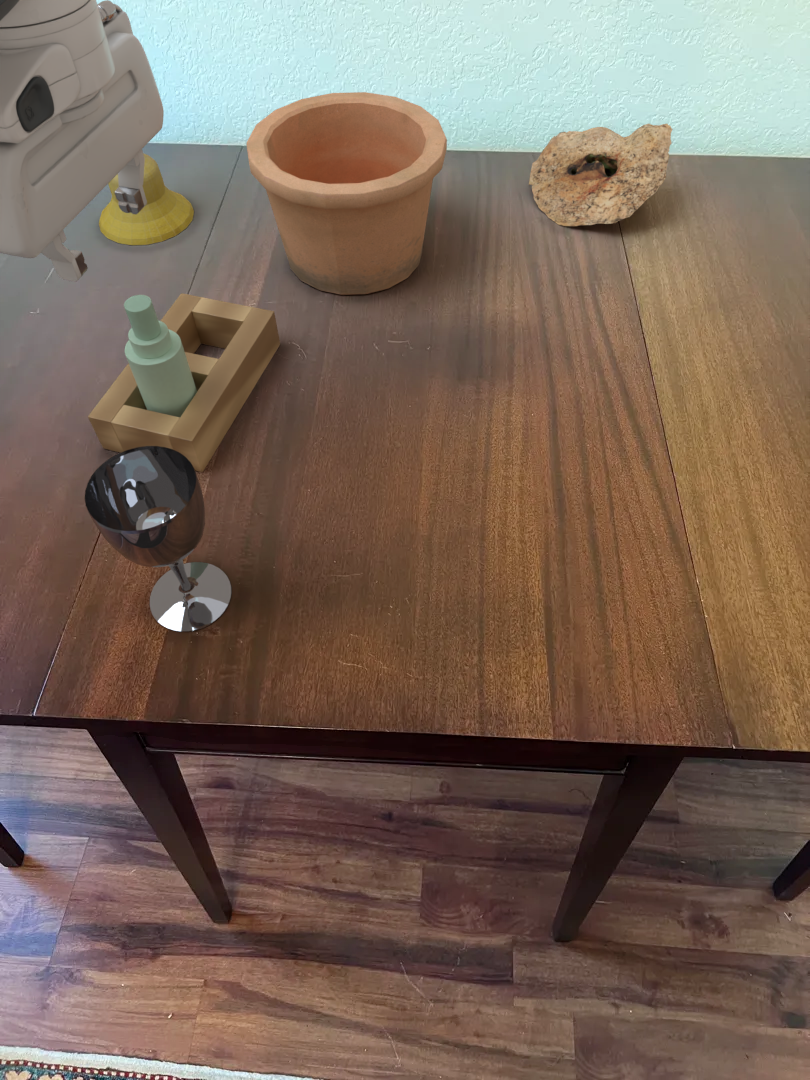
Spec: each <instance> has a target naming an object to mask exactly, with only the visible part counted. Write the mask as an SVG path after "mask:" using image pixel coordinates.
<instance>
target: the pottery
mask: <svg viewBox="0 0 810 1080" xmlns="http://www.w3.org/2000/svg"><path fill="white" fill-rule="evenodd" d="M447 150H448V139H447V136H446V134H445V132H444V129H443V127H442V124H441V123H440V120H439V119H437V117H435V116H434V115H433V114H431V113H430V112H429V111H427V110H426V109H425V108H424V107H422V106H421V105H419V104H416V103H413V102H410V101H407V100H405V99H403V98H399V97H397V96H393V95H387V94H380V93H374V92H367V91H359V92H357V91H355V92H330V93H326V94H325V93H324V94H321V95H315V96H311V97H305V98H301V99H299V100H296V101H293V102H291V103H289V104H288V103H287V104H286V105H284V106H281V107H279V108H277V109H275V110H273V111H272V112H270V113H269V114H267V116H265V117H264V118H263V119H261V120H260V121H259V122H258V123H256V124H255V125H254V128H253V130H252V132H251V133H250V135H249V137H248V139H247V141H246V151H247V158H248V165H249V170H250V174H251V175H252V176H253V177H254V178H255V179H256V181H257V182H259V184H260V185H261V186H262V187H263V188H264V189H265V193H266V194H267V198H268V201H269V204H270V208H271V210H272V213H273V216H274V221H275V222H276V223H275V224H276V225H277V229H278V232H279V235H280V238H281V242H282V245H283V248H284V251H285V255H286V257H287V261H288V264H289V269H290V270H291V271H292V272H293V273H294V274H295V275H296V277H297V278H298V279H299V281H301V282H304V283H305V284H307V285H309V286H310V287H313V288H315V289H316V290H318V291H321V292H326V293H332V294H336V295H341V296H348V295H349V296H350V295H351V296H353V295H356V296H357V295H368V294H373V293H377V292H381V291H385V290H388V289H390V288H392V287H394V286H396V285H398V284H399V283H401V282H403V281H404V280H406V279H408V278H409V277H410V276H411V275H412V273H413V272H414V271H416V269H417V268H418V267H419V266H420V263H421V259H422V255H423V249H424V248H423V246H424V240H425V233H426V227H427V220H428V215H429V209H430V201H431V194H432V189H433V182H434V178H435V177H436V176H437V175H438V174H439V173H440V172H441V171H442V169H443V167H444V162H445V159H446V158H445V157H446V154H447Z"/></svg>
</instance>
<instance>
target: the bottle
mask: <svg viewBox="0 0 810 1080" xmlns="http://www.w3.org/2000/svg"><path fill="white" fill-rule="evenodd" d="M123 307H124V311H125V313H126V315H127V318H128V321H129V325H130V329H129V331H128V333H127V338H128V341H127V342H126V343H125V346H124V355H125V358H126V360H127V364H128V363H129V365H130V368H131V370H132V373H133V375H134V378H135V380H136V383H137V386H138V388H139V391H140V393H141V396H142V398H143V401H144V403H145V406H146V408H147V410H149V411H154V412H158V413H163V414H167V415H171V416H176V417H181V415H182V414H183V412H184V411H185V409H186V408H187V406H188V405H189V403H190V402H191V400H192V399H193V397H194V396H195V394H196V393H197V390H196V386H195V383H194V380H193V377H192V374H191V371H190V367H189V364H188V361H187V358H186V355H185V351H184V348H183V345H182V342H181V339H180V337H179V336H178V334H177V333H175V332H174V331H172V330H169V329H168V327H167V325H166V324H165V323H163V322H162V321H161V320H159V319H158V315H157V312H156V310H155V307H154V304H153V301H152V298H150V296H148V295H145V294H135V295H132V296H130V297H128V298H127V299H126V300H125V301H124V303H123Z"/></svg>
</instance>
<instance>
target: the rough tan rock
mask: <svg viewBox="0 0 810 1080" xmlns="http://www.w3.org/2000/svg"><path fill="white" fill-rule="evenodd" d="M672 132H673V128H672V126H671V125H669V124H668V123H663V124H658V125H657V124H656V125H655V124H654V125H653V124H651V123H645V124H643V125H641V126H640V127H638V128H636V129H635V130H634V131H633V132H631V133H630V135H627V136H622V135H620V134H619V133H618V132H615V131H614V130H612V129H610V128H608V127H605V126H595V127H591V128H588V129H585V130H583V131H579V130H578V131H577V130H568V131H567V132H566V131H561V132H559V133H557V134H556V135H554V136H552V138H550V139H549V141H548V143H547V144H546V145H545V147H544V148H543V149H542V151H541V152H540V155H539V156H538V157H537V159H536V160H535V161H533V162H532V164H531V167H530V168H531V169H530V173H529V178H528V179H529V180H528V186H531V190H532V191H531V192H532V195H533V200H534V202H535V204H536V205H537V208H538V209H539V210H540V211H542V213H544V215H546V217H547V218H548V219H550V220H551V221H552V222H554V223H555V224H556V225H558V226H563V227H579V226H593V225H596V224H597V225H598V224H603V225H604V224H605V225H611V224H617V223H618V222H620V221H623V220H624V219H627V218H630V217H631V216H632V215H634V213H635V212H636V211H637V210H638V209H640V207H641V206H643V204H645V202H646V201H647V200H648V199H649V198H651V197H652V196H653V195H654V194H657V191H658V189H659V188H661V186H662V185H663V183H664V182H665V180H666V178H667V170H668V169H667V168H668V163H669V160H670V153H669V152H670V147H671V146H672V139H671V138H672Z"/></svg>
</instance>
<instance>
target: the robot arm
mask: <svg viewBox="0 0 810 1080" xmlns="http://www.w3.org/2000/svg"><path fill="white" fill-rule="evenodd" d="M164 113H165V111H164V105H163V101H162V98H161V95H160V92H159V88H158V86H157V82H156V79H155V76H154V73H153V70H152V67H151V65H150V62H149V59H148V56H147V53H146V51H145V49H144V47H143V44H142V43H141V41H140V40H139V39H138V38H137V36H135V35H134V32H133V29H132V24H131V21H130V18H129V15H128V14H127V12H126V11H124V10H123V9H122V7H120V6H119V5H118V4H116V3H113V2H112V1H111V0H102V1H100V2H99V3H98V2H97V0H0V254H3V255H6V256H7V255H8V256H11V257H17V258H18V257H19V258H23V259H35V258H37V257H38V256H39V255H40V254H42V255H43V256H45V257H46V258H47V259H48V260H50V261H51V263H52V266H53V268H54V270H55V273H56V275H57V276H58V277H59V278H60V279H61V280H63V281H69V282H73V283H77V282H78V281H79V280H80V279H81V278H82V277H83V276H84V274H85V273H86V272H87V271H88V269H89V267H88V265H87V263H86V262H85V260H86V259H85V257H84V254H83V252H82V250H76V249H72V250H70V249H69V248H67V247H66V246H65V245H64V243H65V242H66V241H67V236H66V233H65V231H64V229H65V228H66V227H68V225H69V224H70V223H71V222H72V221H73V220H74V219H75V218H76V217H77V216H78V215H79V214H80V213H81V212H82V211H83V210H84V209H85V208H86V207H87V206H88V205H89V204H90V203H91V202H92V201H93V200H94V199H95V198H96V197H97V196H98V195H99V194H100V193H101V192H102V190H103V189H105V187H106V186H108V183H109V182H110V181H111V180H112V179H113V178H114V177H115V176H116V175H117V174H118V182H119V187H118V188H117V189H116V190H115V195H116V199H117V200H118V205H119V208H120V209H121V210H122V211H123V212H125V213H132V214H138V213H139V212H140V211H141V210H142V209H143V208H144V206H145V205H146V204H147V200H146V197H145V193H144V190H143V186H142V185H143V179H144V163H145V158H144V154H145V153H144V151H143V149H144V148H145V147H146V146H147V144H148V143H149V142H150V141H152V139H153V138H154V137H155V136H157V134H158V133H159V132H160V131H162V129H163V125H164V115H165V114H164ZM143 153H144V154H143Z"/></svg>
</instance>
